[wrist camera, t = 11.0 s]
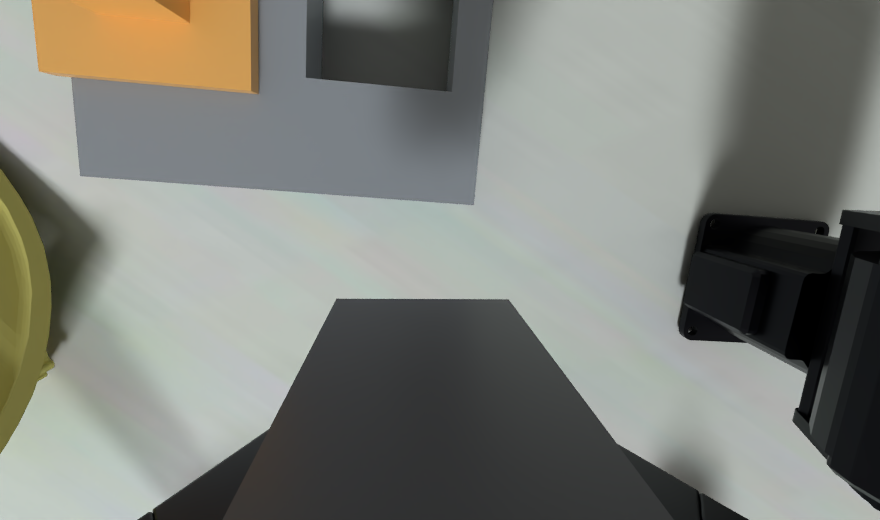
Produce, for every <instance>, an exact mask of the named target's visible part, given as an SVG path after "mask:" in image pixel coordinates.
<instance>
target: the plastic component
mask: <svg viewBox="0 0 880 520" xmlns="http://www.w3.org/2000/svg"><path fill="white" fill-rule="evenodd" d="M51 308H52V307H51V279H50V274H49V269H48V264H47V259H46V254H45V249H44V245H43V243H42V240H41V238H40V236H39V233H38V231H37V228H36V226H35V223H34V221H33V219H32V216H31V215H30V213H29V211H28V209H27V208H26V206H25V204H24V203H23V201H22V199H21V197H20V196H19V194H18V193H17V191H16V190H15V189H14V187H13V186H12V184H11V183H10V181H9V180H8V179H7V177H6V176H5V174H4V173H3V171H2V170H1V169H0V453H1V452H2V450H3V449H4V447H5V446H6V444H7V443H8V441H9V439H10V437H11V436H12V434H13V432H14V431H15V429H16V427H17V426H18V424H19V422H20V420H21V418H22V416H23V414H24V412H25V409H26V407H27V405H28V403H29V401H30V399H31V397H32V395H33V392H34V389H35V387H36V384H37V381H39V380H41V379H42V378H44V377H46V376H47V373H46V372H47V371H48V370H50V369H52V368H53V367H54V362H53V361H51V360H50V358H49V357H48V354H47V352H46V348H47V343H48V338H49V330H50V319H51Z"/></svg>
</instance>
